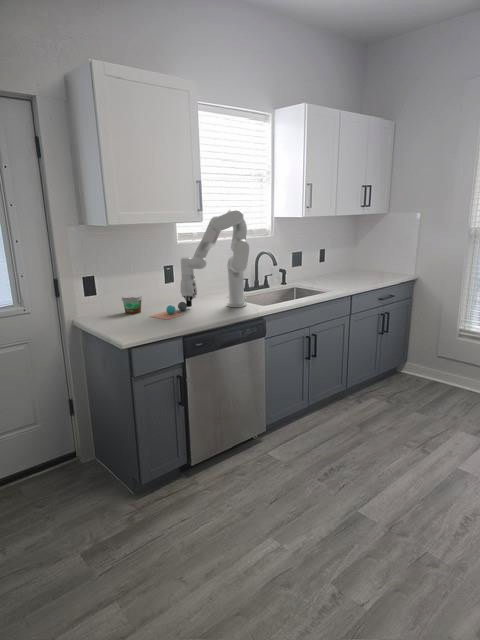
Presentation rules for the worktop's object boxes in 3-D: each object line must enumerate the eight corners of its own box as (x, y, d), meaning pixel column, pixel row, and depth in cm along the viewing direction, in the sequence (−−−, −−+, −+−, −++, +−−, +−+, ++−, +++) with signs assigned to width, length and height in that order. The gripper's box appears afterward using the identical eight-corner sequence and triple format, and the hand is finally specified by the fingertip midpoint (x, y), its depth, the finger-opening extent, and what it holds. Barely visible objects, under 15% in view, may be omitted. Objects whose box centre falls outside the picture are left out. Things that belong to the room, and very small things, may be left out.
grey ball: (176, 301, 265) (175, 309, 265) (182, 301, 261) (181, 310, 261) (183, 302, 269) (182, 310, 269) (189, 302, 266) (188, 311, 266)
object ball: (169, 303, 258) (163, 307, 255) (175, 304, 255) (169, 308, 252) (171, 310, 261) (165, 315, 258) (178, 311, 258) (172, 316, 254)
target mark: (166, 311, 264) (166, 311, 264) (183, 314, 256) (183, 314, 256) (149, 316, 253) (149, 316, 252) (167, 319, 245) (167, 319, 245)
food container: (120, 315, 258) (119, 298, 255) (123, 312, 264) (121, 296, 261) (141, 314, 258) (140, 298, 256) (143, 312, 264) (142, 296, 261)
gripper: (201, 277, 264) (202, 306, 268) (182, 275, 272) (184, 304, 277) (193, 279, 258) (194, 309, 263) (174, 277, 266) (176, 306, 271)
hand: (189, 306), depth 270 cm, fingers closed
